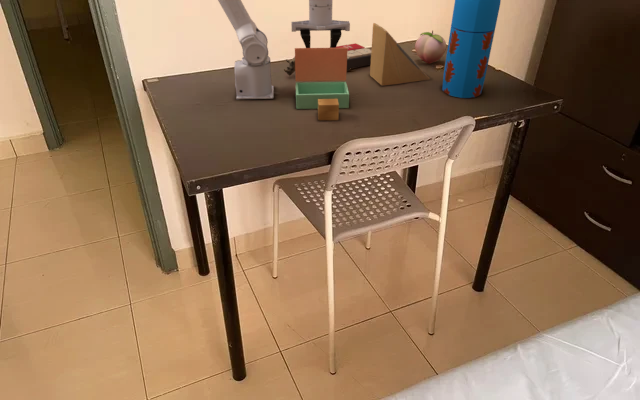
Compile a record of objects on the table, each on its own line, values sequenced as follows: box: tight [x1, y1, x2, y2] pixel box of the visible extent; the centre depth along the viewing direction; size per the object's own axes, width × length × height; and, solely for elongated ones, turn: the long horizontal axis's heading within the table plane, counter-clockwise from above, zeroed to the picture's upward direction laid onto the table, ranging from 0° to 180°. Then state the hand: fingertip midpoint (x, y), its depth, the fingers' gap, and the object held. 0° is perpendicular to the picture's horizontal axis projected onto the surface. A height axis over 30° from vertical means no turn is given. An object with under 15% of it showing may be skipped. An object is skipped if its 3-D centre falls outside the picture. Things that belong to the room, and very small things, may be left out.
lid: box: [294, 47, 348, 82], centre depth 130 cm, size 9×13×4 cm
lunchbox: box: [295, 81, 350, 110], centre depth 130 cm, size 8×13×4 cm, turn 93°
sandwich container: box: [369, 22, 431, 87], centre depth 141 cm, size 9×15×15 cm, turn 109°
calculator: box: [336, 43, 372, 72], centre depth 153 cm, size 11×4×15 cm
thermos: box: [441, 0, 502, 99], centre depth 130 cm, size 11×11×25 cm
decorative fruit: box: [414, 30, 447, 65], centre depth 152 cm, size 9×8×10 cm
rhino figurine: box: [283, 56, 295, 77], centre depth 145 cm, size 4×14×6 cm, turn 133°
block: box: [317, 99, 340, 121], centre depth 122 cm, size 5×4×4 cm
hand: (320, 58), depth 131 cm, fingers closed on lid, 5 cm apart
